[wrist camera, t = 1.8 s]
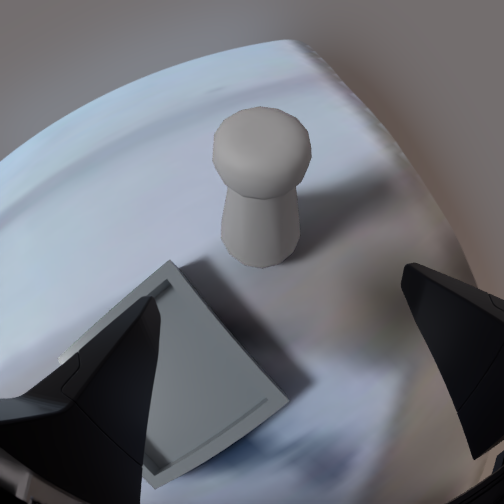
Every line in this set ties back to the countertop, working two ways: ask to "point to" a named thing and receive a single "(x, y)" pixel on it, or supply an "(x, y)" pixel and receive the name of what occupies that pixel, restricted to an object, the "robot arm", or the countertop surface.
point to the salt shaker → (261, 183)
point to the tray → (193, 380)
